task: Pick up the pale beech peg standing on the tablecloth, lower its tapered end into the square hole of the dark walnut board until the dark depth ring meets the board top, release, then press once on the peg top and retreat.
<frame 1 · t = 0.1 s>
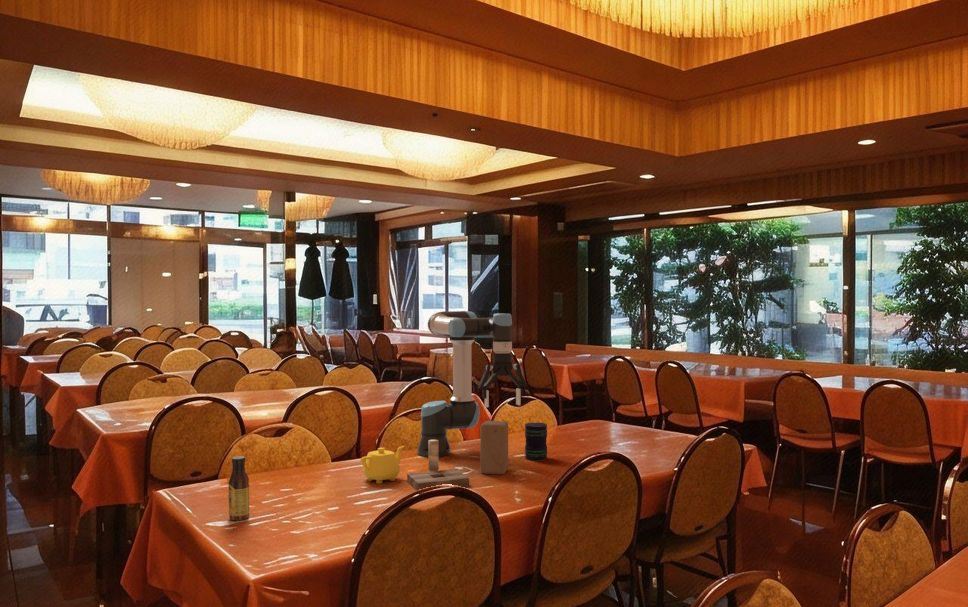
hand: (502, 405, 274), 28 cm above the table, fingers open, 13 cm apart
board: (437, 483, 263), on the table
peg: (433, 475, 275), on the table
teapot: (383, 480, 270), on the table
wooden block: (494, 472, 281), on the table
sauce bottle: (239, 519, 222), on the table
storage jar: (536, 458, 305), on the table
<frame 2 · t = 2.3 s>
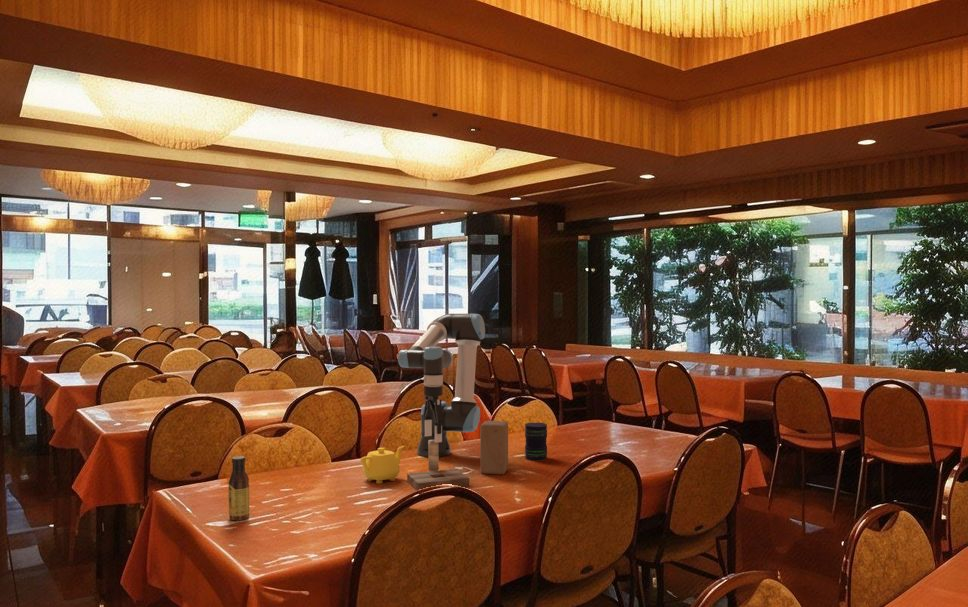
hand: (433, 439, 275), 15 cm above the table, fingers open, 13 cm apart
nothing on the table moved.
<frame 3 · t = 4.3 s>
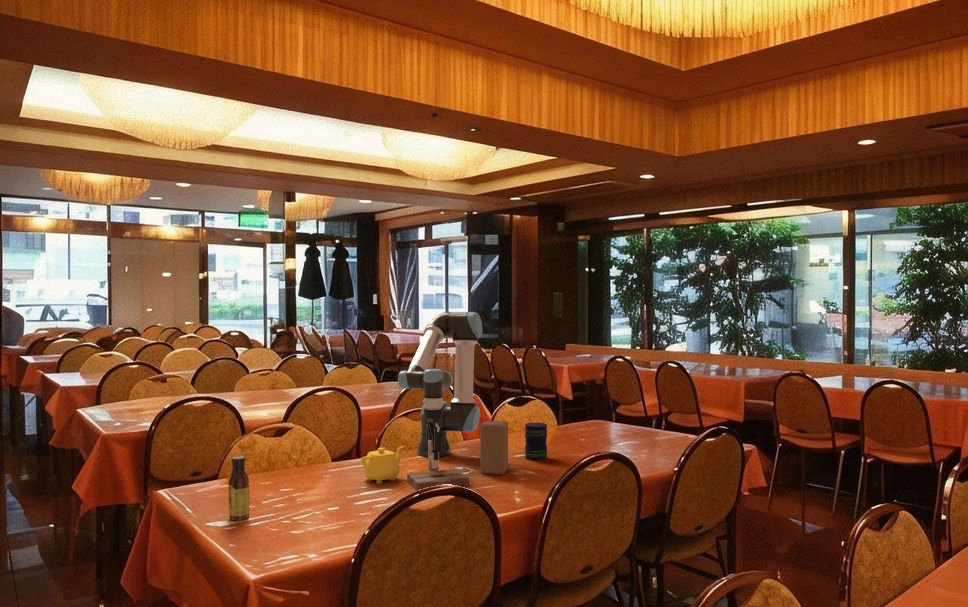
hand: (433, 466, 275), 4 cm above the table, fingers closed on peg, 4 cm apart
peg: (433, 475, 275), on the table, touching gripper
everything else where it was.
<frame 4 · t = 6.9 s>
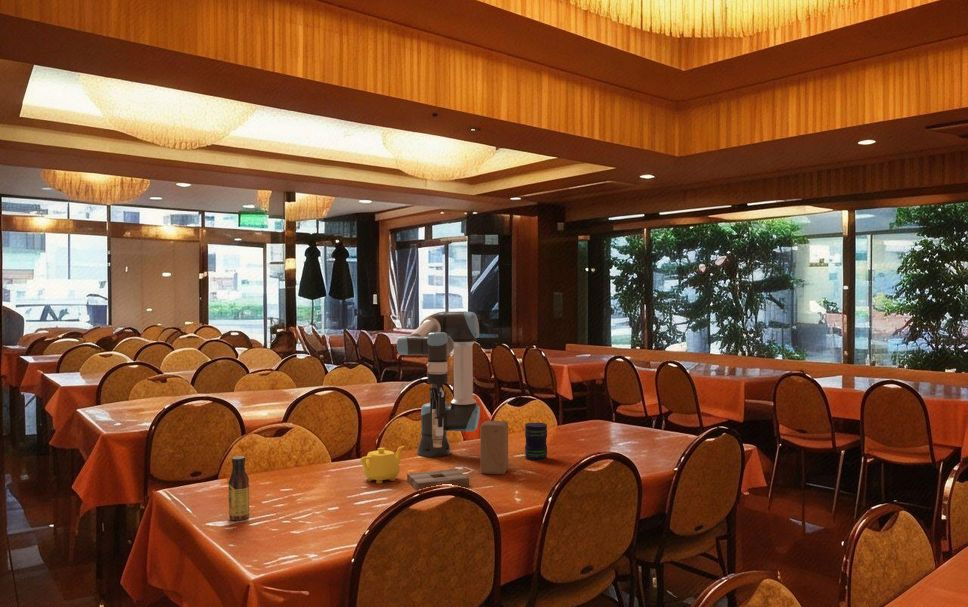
hand: (437, 434, 263), 19 cm above the table, fingers closed on peg, 4 cm apart
peg: (437, 446, 263), point 14 cm above the table, touching gripper
everything else where it was.
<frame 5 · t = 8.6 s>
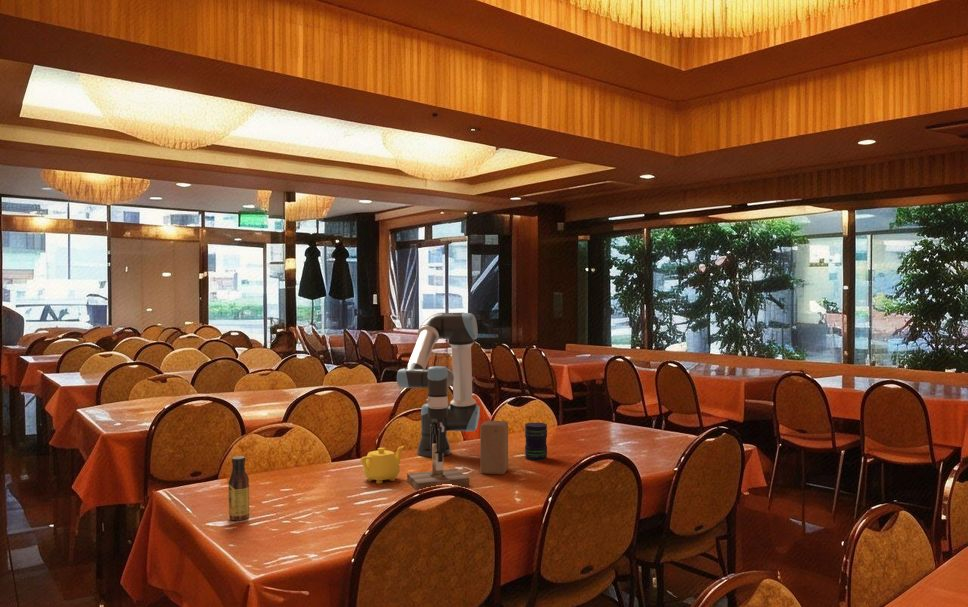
hand: (437, 468, 263), 6 cm above the table, fingers closed on peg, 4 cm apart
peg: (437, 480, 263), point 1 cm above the table, touching gripper
everything else where it was.
when the fingers open (5 cm above the table, at t = 9.4 s): peg stays where it is, resting in board.
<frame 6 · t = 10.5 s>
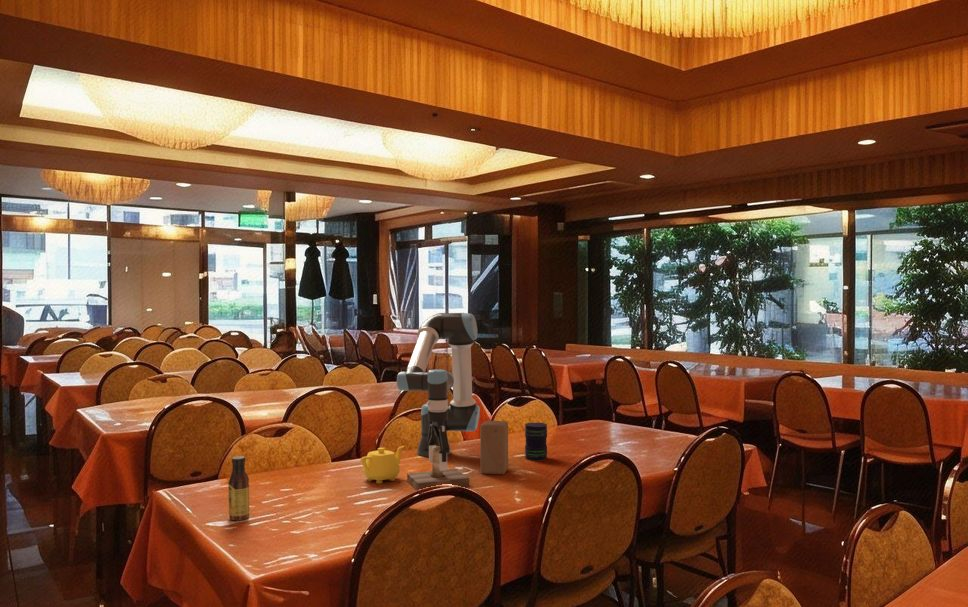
hand: (437, 466, 263), 7 cm above the table, fingers open, 13 cm apart
peg: (437, 483, 263), resting in board
everything else where it was.
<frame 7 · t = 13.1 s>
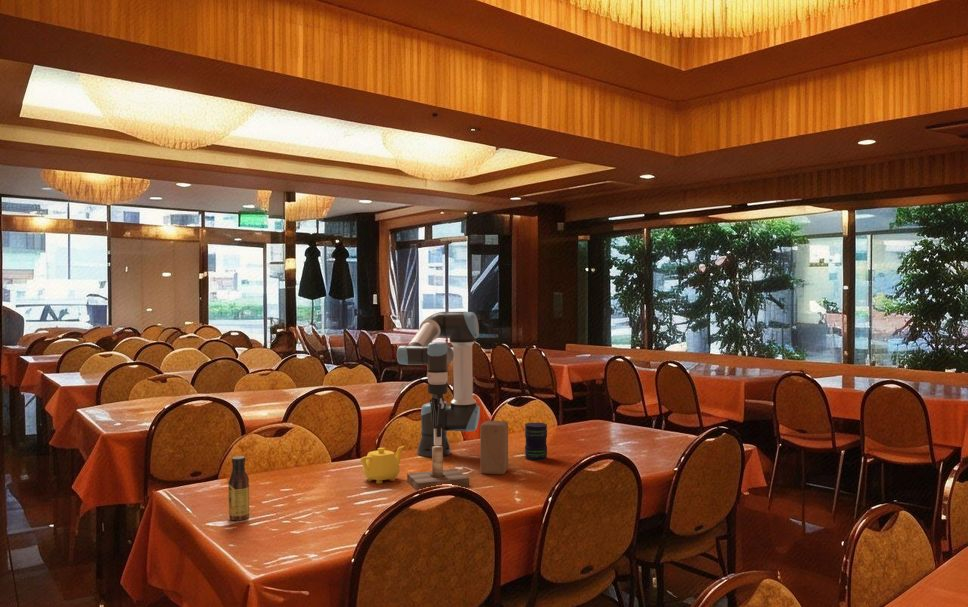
hand: (437, 444, 263), 15 cm above the table, fingers closed
nothing on the table moved.
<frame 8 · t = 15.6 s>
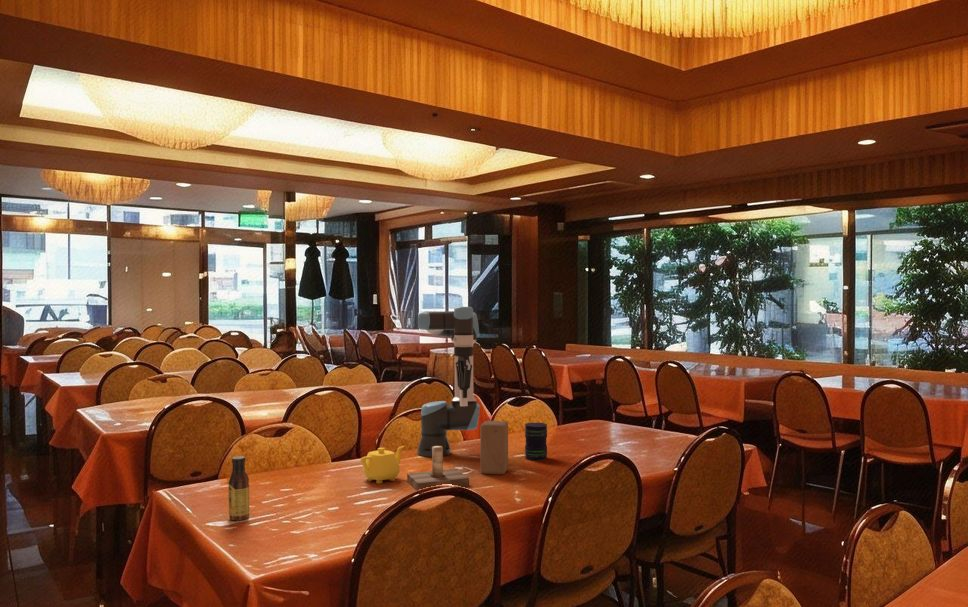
hand: (463, 405, 271), 28 cm above the table, fingers closed
nothing on the table moved.
at the end: peg 0.1 cm off-centre on the board, point 0.0 cm above the board's base; peg tilted 0°; the gripper is holding nothing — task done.
